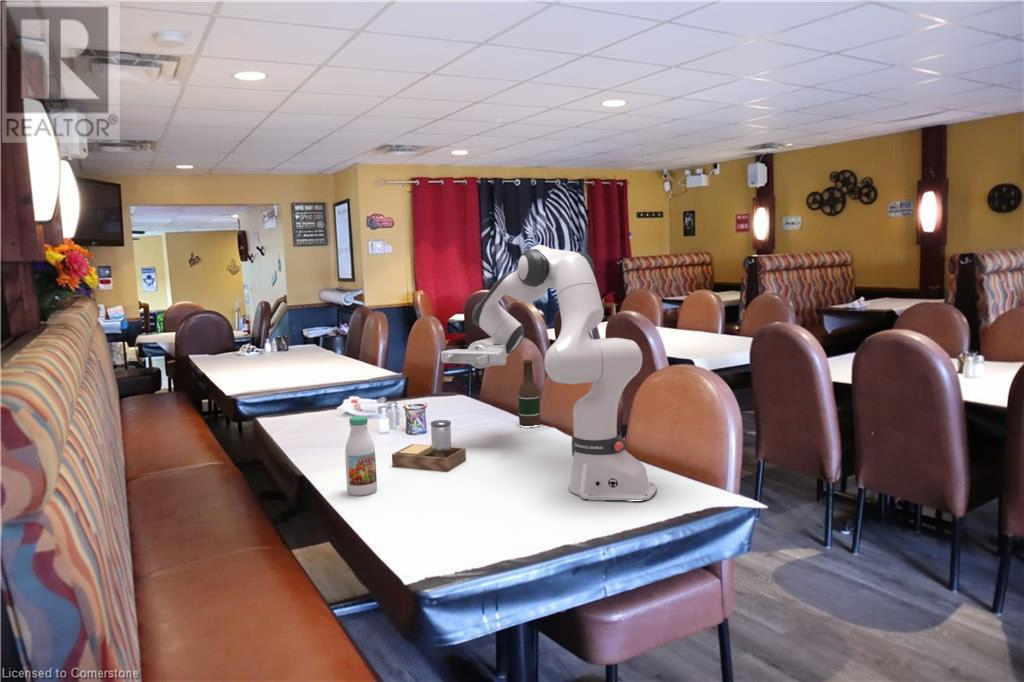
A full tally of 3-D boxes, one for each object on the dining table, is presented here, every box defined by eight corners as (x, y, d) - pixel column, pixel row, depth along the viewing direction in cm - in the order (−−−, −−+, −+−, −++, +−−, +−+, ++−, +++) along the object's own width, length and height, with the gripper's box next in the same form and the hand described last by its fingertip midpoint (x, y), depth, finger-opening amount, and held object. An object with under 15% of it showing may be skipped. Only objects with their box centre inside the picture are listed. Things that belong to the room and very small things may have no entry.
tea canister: (455, 462, 210) (454, 420, 209) (446, 468, 205) (444, 424, 203) (437, 461, 212) (436, 419, 211) (428, 466, 207) (427, 423, 206)
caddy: (466, 463, 212) (465, 448, 212) (447, 474, 201) (447, 459, 201) (413, 458, 219) (412, 444, 218) (392, 469, 208) (391, 454, 207)
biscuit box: (432, 459, 215) (431, 446, 214) (417, 467, 206) (416, 453, 206) (414, 457, 217) (414, 444, 217) (399, 465, 209) (398, 452, 208)
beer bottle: (516, 428, 255) (514, 361, 252) (522, 423, 262) (520, 358, 259) (537, 428, 252) (535, 361, 250) (542, 423, 260) (541, 358, 257)
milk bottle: (341, 494, 187) (336, 419, 185) (360, 485, 194) (356, 413, 191) (364, 498, 183) (360, 421, 181) (383, 489, 190) (379, 415, 188)
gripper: (451, 343, 232) (431, 349, 219) (510, 344, 224) (492, 350, 212) (452, 363, 233) (432, 369, 220) (510, 364, 225) (493, 371, 212)
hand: (462, 360), depth 216 cm, fingers open, 8 cm apart
